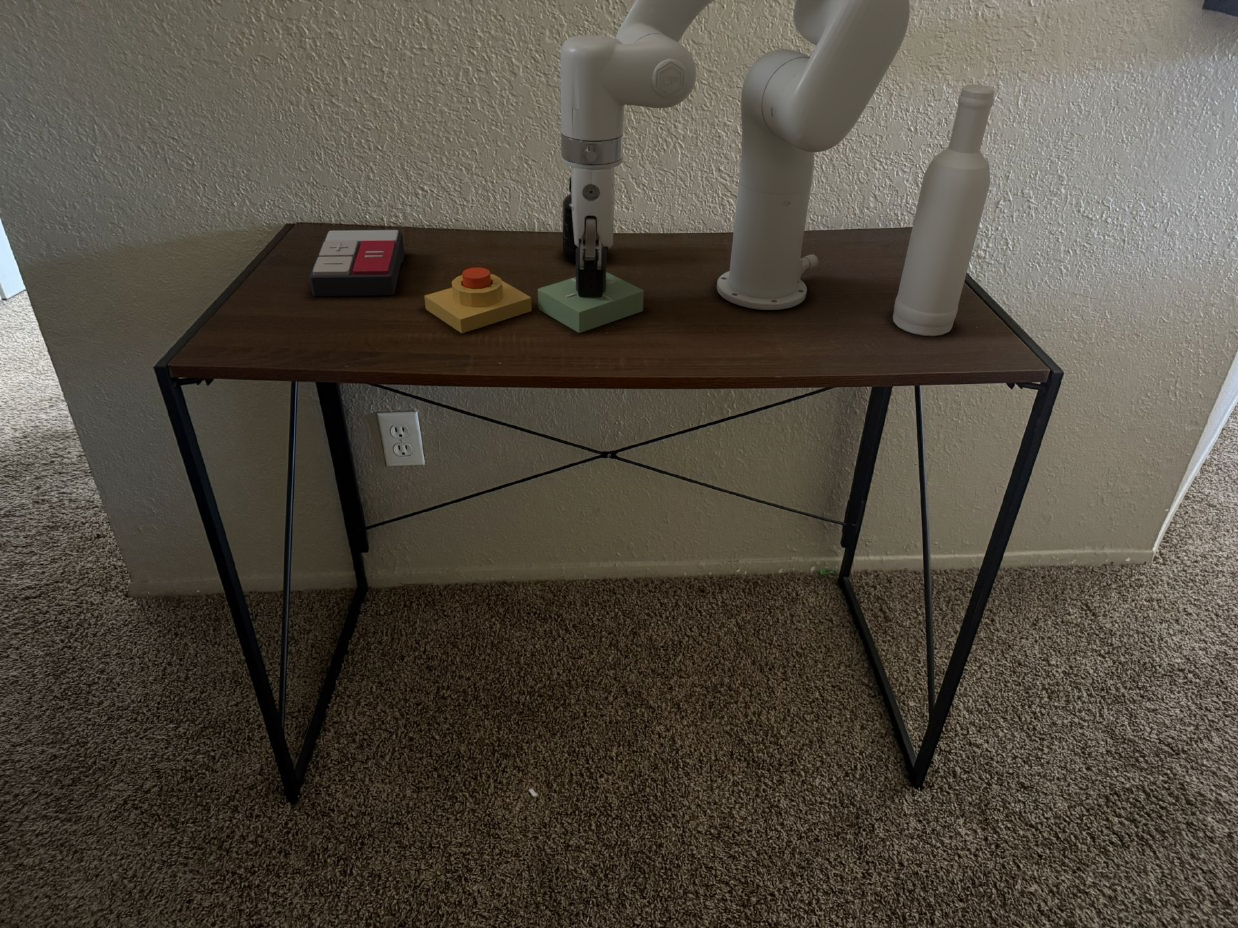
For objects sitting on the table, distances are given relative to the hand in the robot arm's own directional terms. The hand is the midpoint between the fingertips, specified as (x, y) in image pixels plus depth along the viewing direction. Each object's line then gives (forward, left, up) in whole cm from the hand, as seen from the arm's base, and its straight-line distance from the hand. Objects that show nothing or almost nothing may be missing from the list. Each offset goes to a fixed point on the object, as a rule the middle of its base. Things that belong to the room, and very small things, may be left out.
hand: (590, 287), depth 120 cm
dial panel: (0, 0, -3) cm, 3 cm away
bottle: (-33, +30, -4) cm, 45 cm away
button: (+12, -9, 0) cm, 15 cm away
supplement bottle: (-11, -15, -4) cm, 19 cm away
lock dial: (0, 0, 0) cm, 0 cm away
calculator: (+19, -29, -4) cm, 35 cm away
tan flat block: (+12, -9, -3) cm, 15 cm away
